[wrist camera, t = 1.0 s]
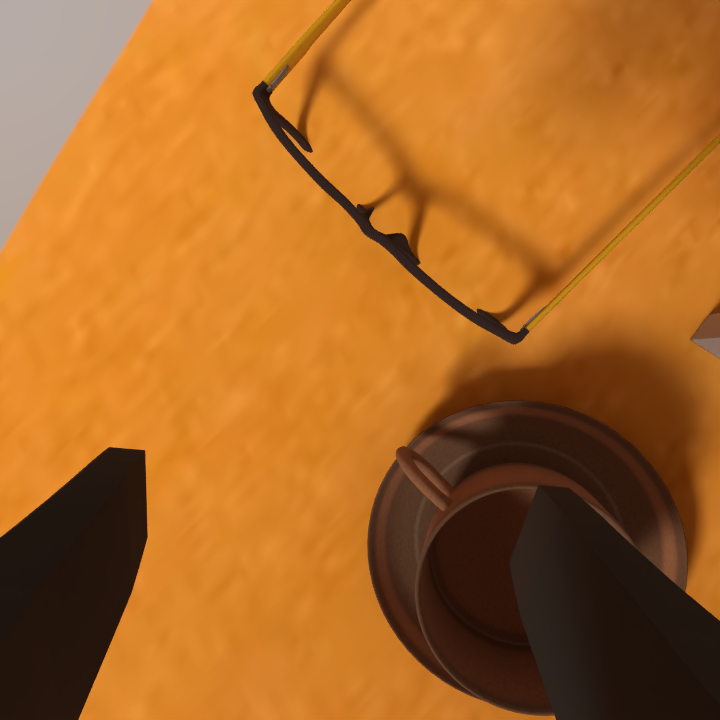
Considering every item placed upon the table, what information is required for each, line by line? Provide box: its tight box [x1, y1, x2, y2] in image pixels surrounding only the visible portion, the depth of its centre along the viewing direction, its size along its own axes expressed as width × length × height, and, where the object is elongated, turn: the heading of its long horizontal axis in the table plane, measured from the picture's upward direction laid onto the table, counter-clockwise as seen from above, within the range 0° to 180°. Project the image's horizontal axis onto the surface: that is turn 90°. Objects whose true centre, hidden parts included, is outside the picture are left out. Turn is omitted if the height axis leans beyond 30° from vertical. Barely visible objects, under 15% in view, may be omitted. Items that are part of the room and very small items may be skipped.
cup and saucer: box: [367, 401, 688, 716], centre depth 21 cm, size 12×12×6 cm
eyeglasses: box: [252, 0, 720, 345], centre depth 23 cm, size 14×14×4 cm
